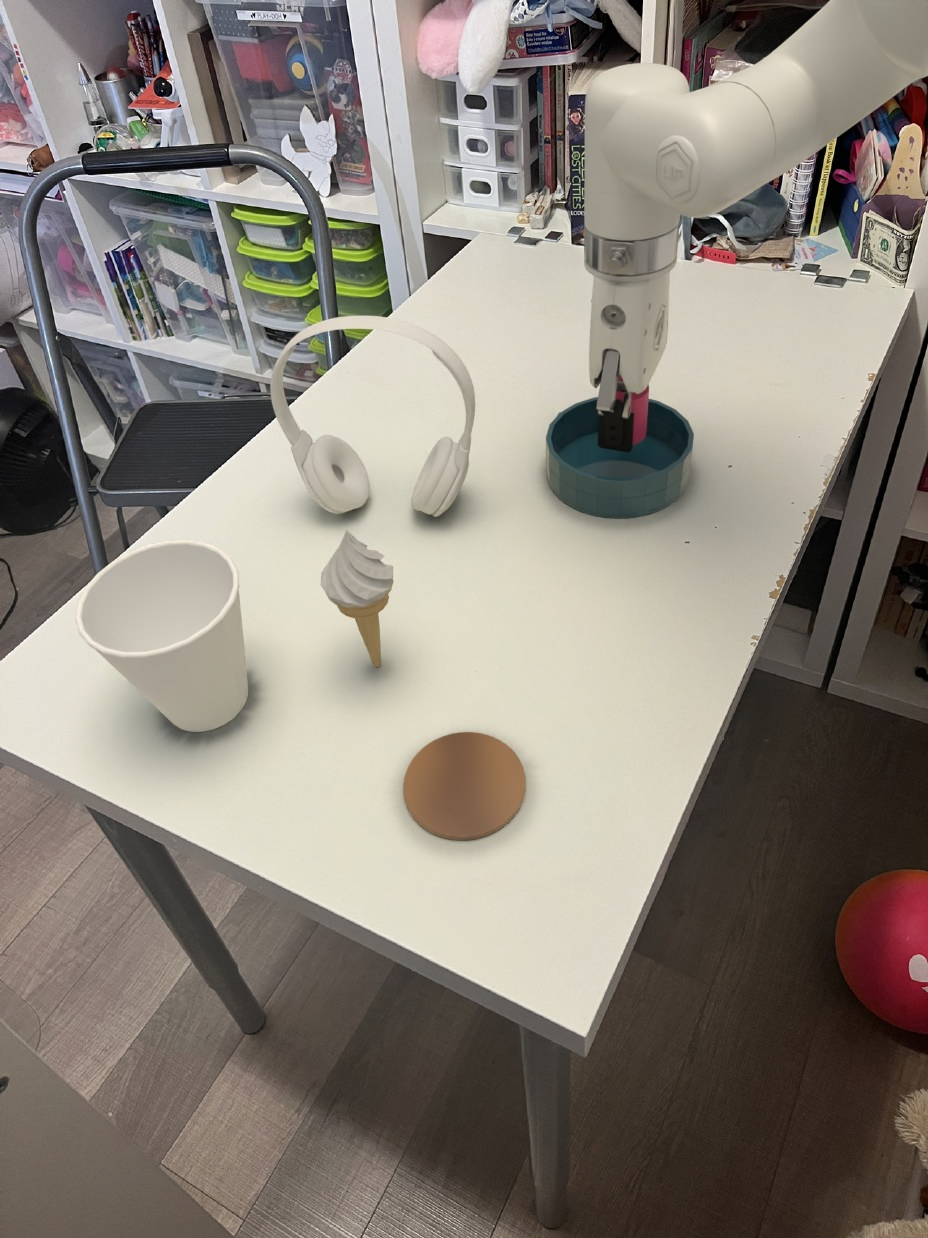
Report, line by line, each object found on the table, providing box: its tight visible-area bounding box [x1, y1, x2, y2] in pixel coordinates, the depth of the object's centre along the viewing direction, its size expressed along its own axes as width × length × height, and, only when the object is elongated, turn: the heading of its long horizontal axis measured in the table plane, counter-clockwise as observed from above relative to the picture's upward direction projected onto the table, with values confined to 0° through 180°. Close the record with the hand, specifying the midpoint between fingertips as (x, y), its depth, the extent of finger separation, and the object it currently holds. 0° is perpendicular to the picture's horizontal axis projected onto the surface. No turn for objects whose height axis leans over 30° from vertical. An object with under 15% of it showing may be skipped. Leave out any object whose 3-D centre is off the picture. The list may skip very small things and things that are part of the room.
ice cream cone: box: [320, 529, 394, 668], centre depth 69 cm, size 6×6×15 cm
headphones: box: [269, 315, 476, 518], centre depth 81 cm, size 7×18×20 cm, turn 82°
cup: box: [74, 539, 249, 733], centre depth 68 cm, size 12×12×12 cm
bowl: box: [545, 396, 695, 519], centre depth 87 cm, size 14×14×4 cm
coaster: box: [403, 731, 527, 841], centre depth 65 cm, size 9×9×1 cm
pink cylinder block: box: [615, 377, 650, 445], centre depth 83 cm, size 4×4×5 cm
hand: (622, 430), depth 85 cm, fingers closed on pink cylinder block, 4 cm apart
